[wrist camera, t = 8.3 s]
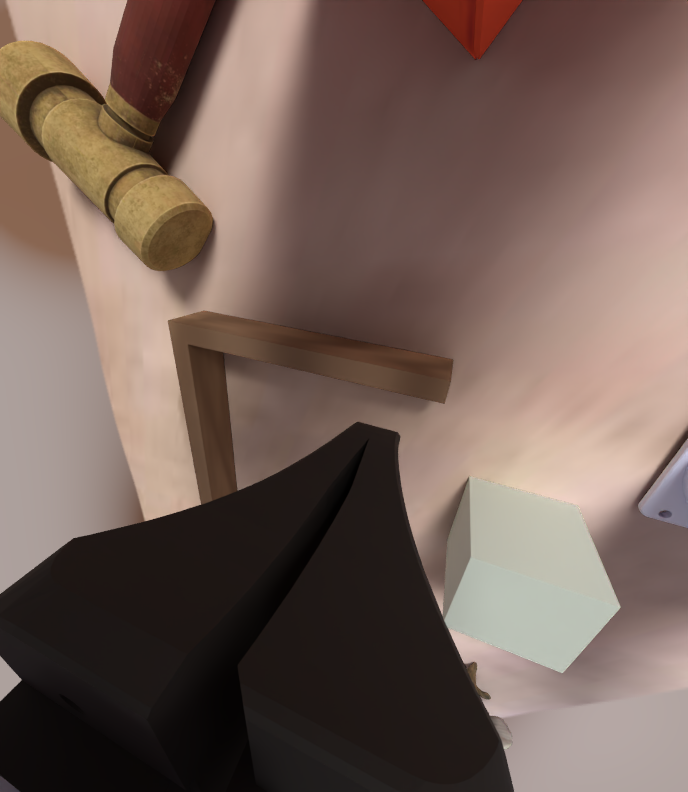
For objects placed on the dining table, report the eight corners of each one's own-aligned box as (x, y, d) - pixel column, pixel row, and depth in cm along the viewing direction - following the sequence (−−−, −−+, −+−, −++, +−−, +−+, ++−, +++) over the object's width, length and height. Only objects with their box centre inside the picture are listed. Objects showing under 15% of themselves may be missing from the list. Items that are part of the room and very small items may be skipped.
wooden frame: (453, 359, 17) (450, 381, 14) (391, 583, 27) (384, 619, 24) (203, 310, 21) (167, 320, 18) (230, 520, 31) (208, 545, 28)
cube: (577, 504, 18) (620, 607, 13) (539, 568, 21) (562, 673, 16) (469, 475, 20) (470, 557, 15) (447, 538, 23) (442, 625, 17)
